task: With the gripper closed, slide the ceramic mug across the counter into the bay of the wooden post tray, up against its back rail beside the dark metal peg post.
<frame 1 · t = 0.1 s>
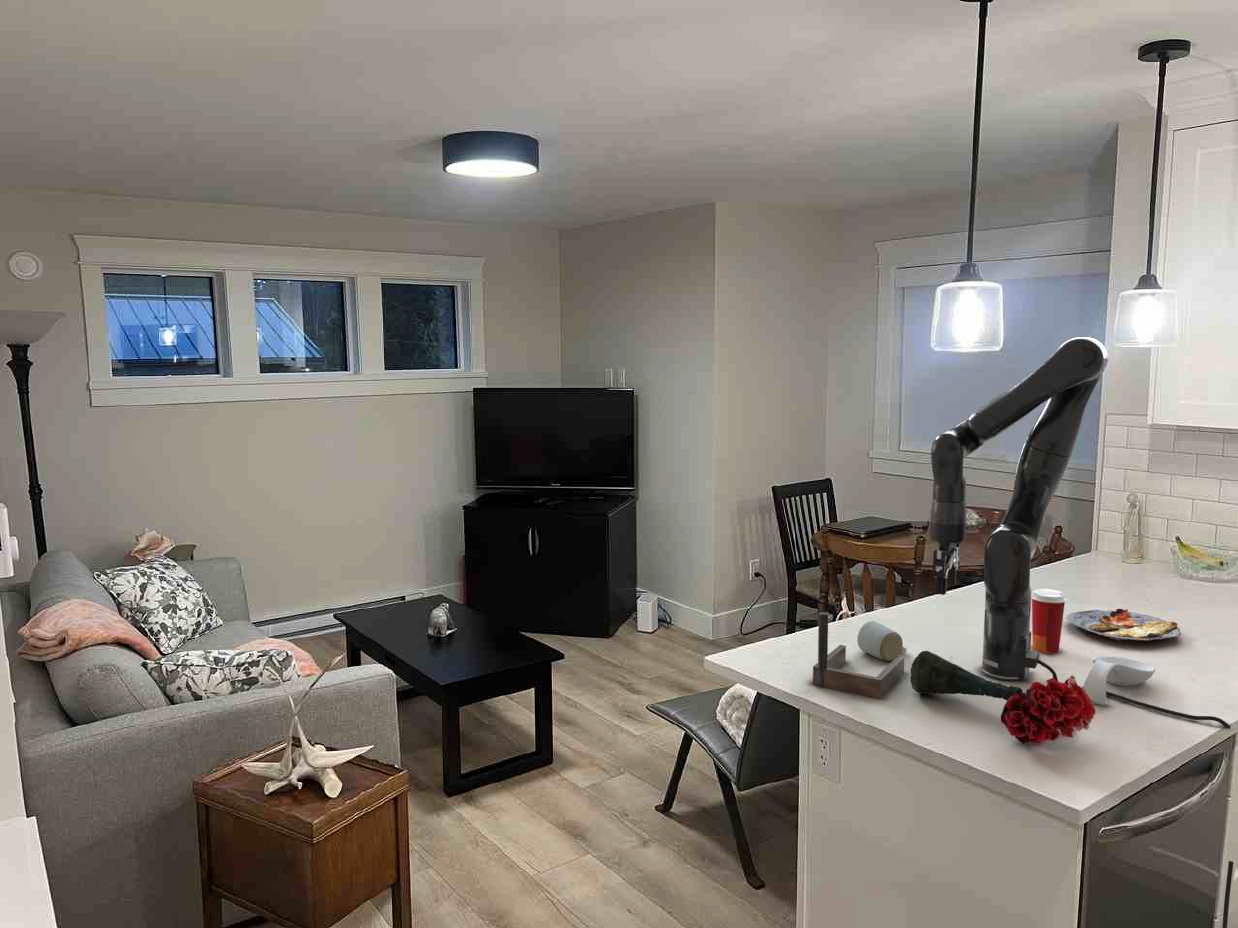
hand: (945, 589, 205), 17 cm above the counter, tool pointing down, fingers open, 8 cm apart
spoon rest: (1113, 689, 190), on the counter
food plate: (1122, 632, 226), on the counter
paper cup: (1045, 650, 214), on the counter
carnation: (993, 722, 175), on the counter
ceramic mug: (883, 656, 212), on the counter
wooden post tray: (860, 677, 199), on the counter
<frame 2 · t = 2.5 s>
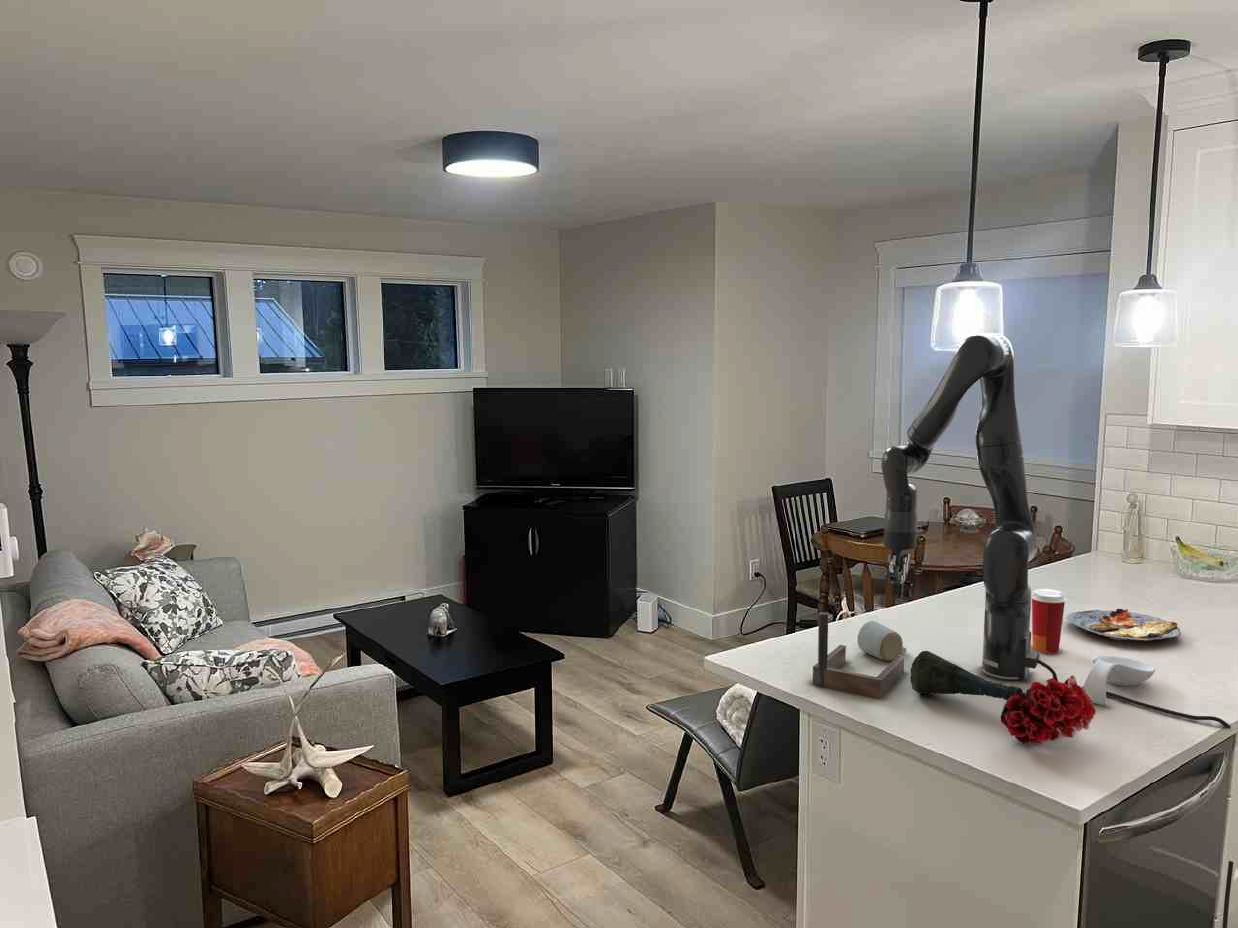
hand: (897, 597, 218), 12 cm above the counter, tool pointing down, fingers closed
nothing on the counter moved.
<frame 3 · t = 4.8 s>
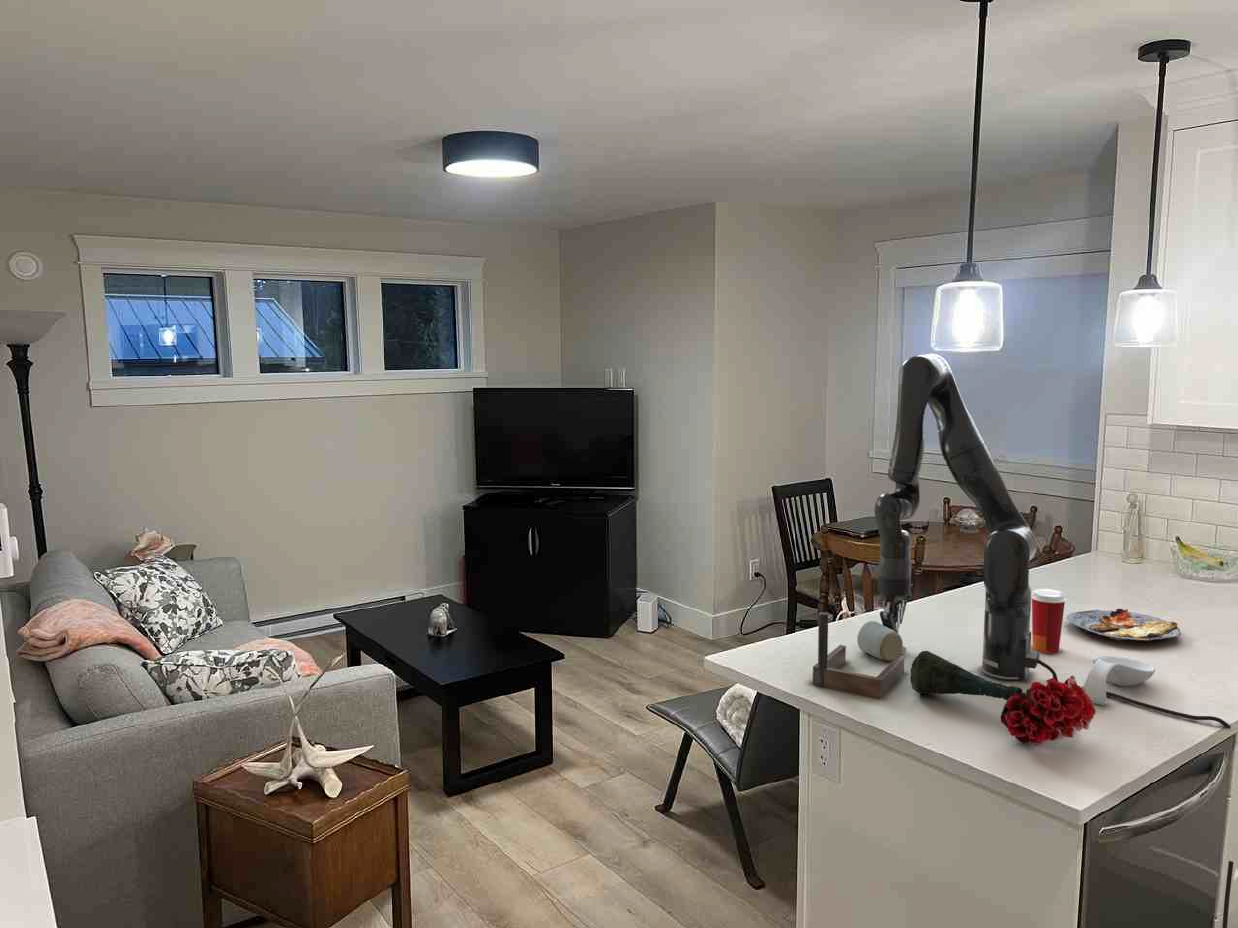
hand: (892, 643, 217), 1 cm above the counter, tool pointing down, fingers closed
ceramic mug: (883, 656, 212), on the counter, touching gripper, hand
everything else where it was.
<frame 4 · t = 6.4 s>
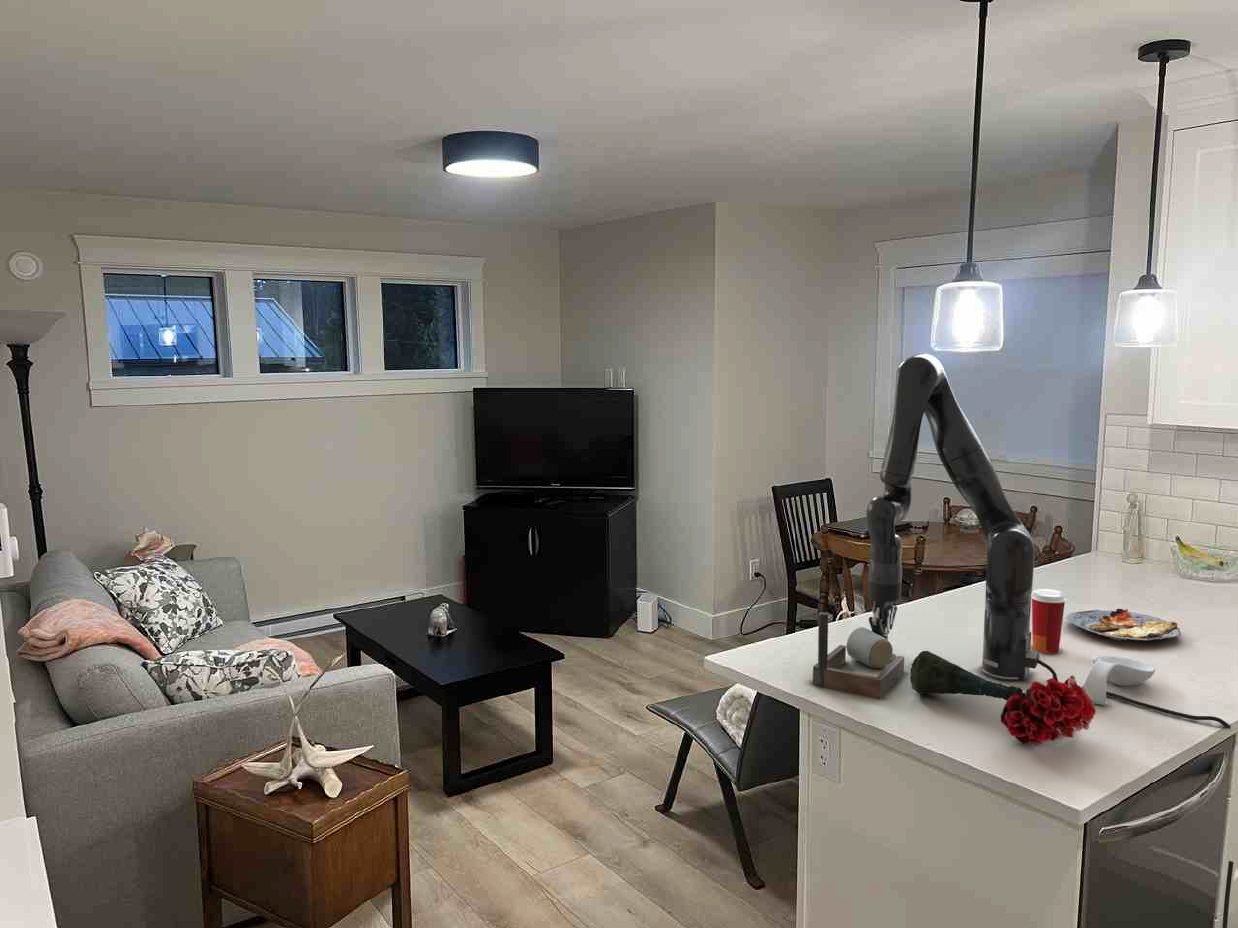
hand: (881, 649, 212), 1 cm above the counter, tool pointing down, fingers closed
ceramic mug: (873, 663, 207), on the counter, touching gripper, hand
everything else where it was.
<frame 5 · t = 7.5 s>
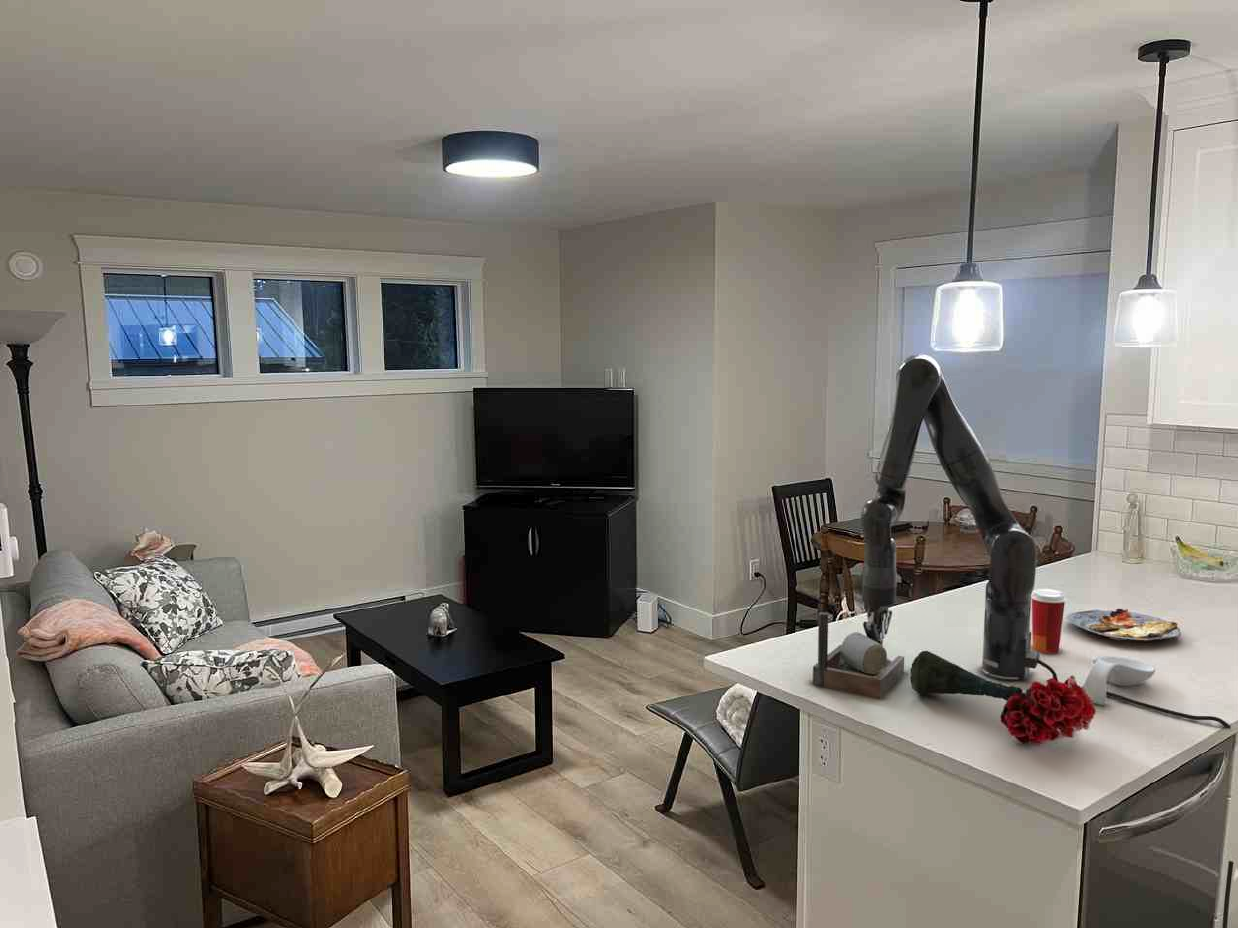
hand: (876, 654, 209), 1 cm above the counter, tool pointing down, fingers closed
ceramic mug: (867, 669, 204), on the counter, touching gripper, hand
everything else where it was.
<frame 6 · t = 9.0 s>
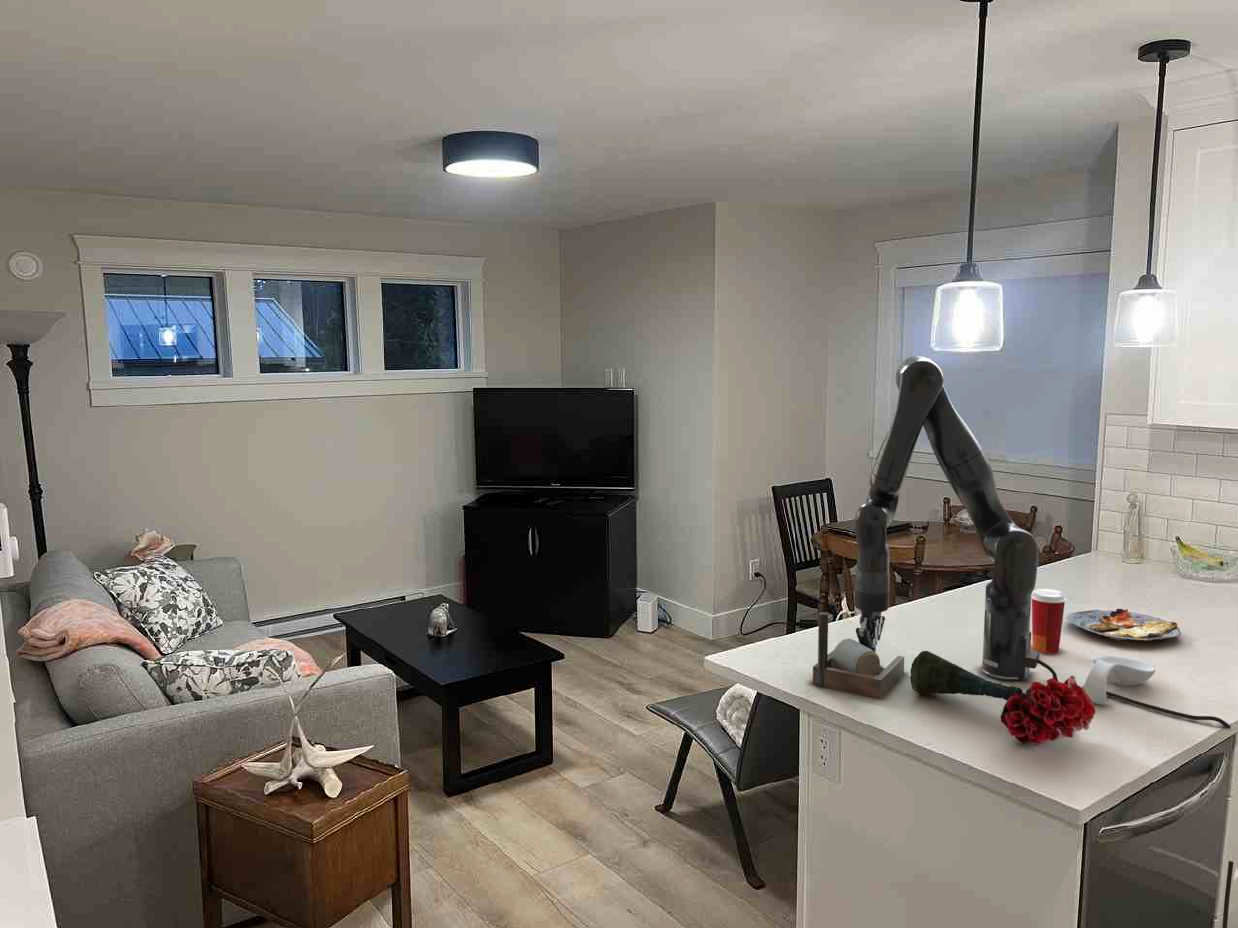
hand: (869, 661, 205), 1 cm above the counter, tool pointing down, fingers closed
ceramic mug: (860, 676, 200), on the counter, touching gripper, hand
everything else where it was.
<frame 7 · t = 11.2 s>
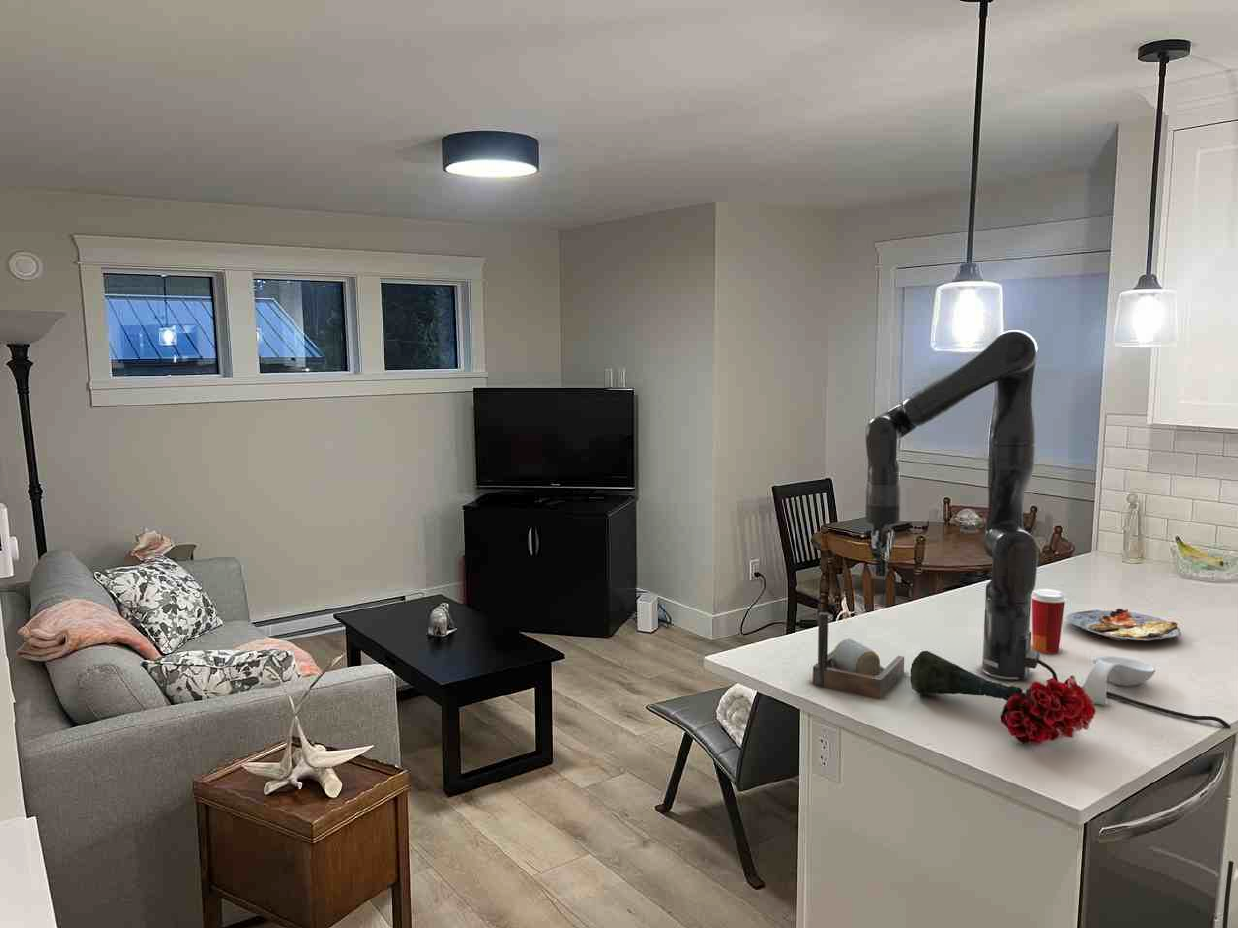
hand: (881, 575, 209), 19 cm above the counter, tool pointing down, fingers closed
ceramic mug: (860, 676, 200), on the counter
everything else where it was.
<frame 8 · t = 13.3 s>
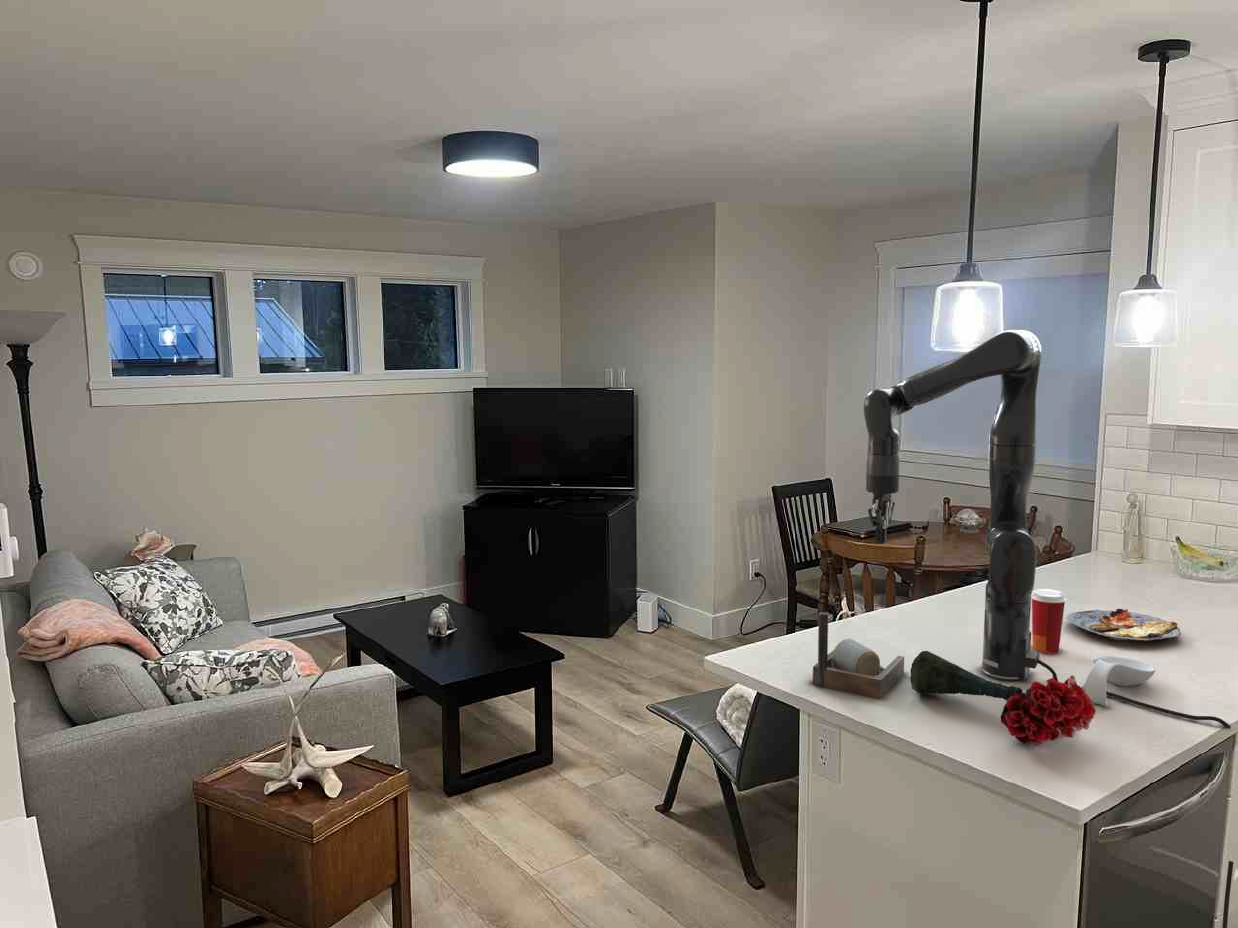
hand: (880, 543, 217), 25 cm above the counter, tool pointing down, fingers closed
nothing on the counter moved.
at the end: ceramic mug inside the target area on the wooden post tray (0.4 cm from its centre), point 0.0 cm above the wooden post tray's base; ceramic mug tilted 0° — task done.
